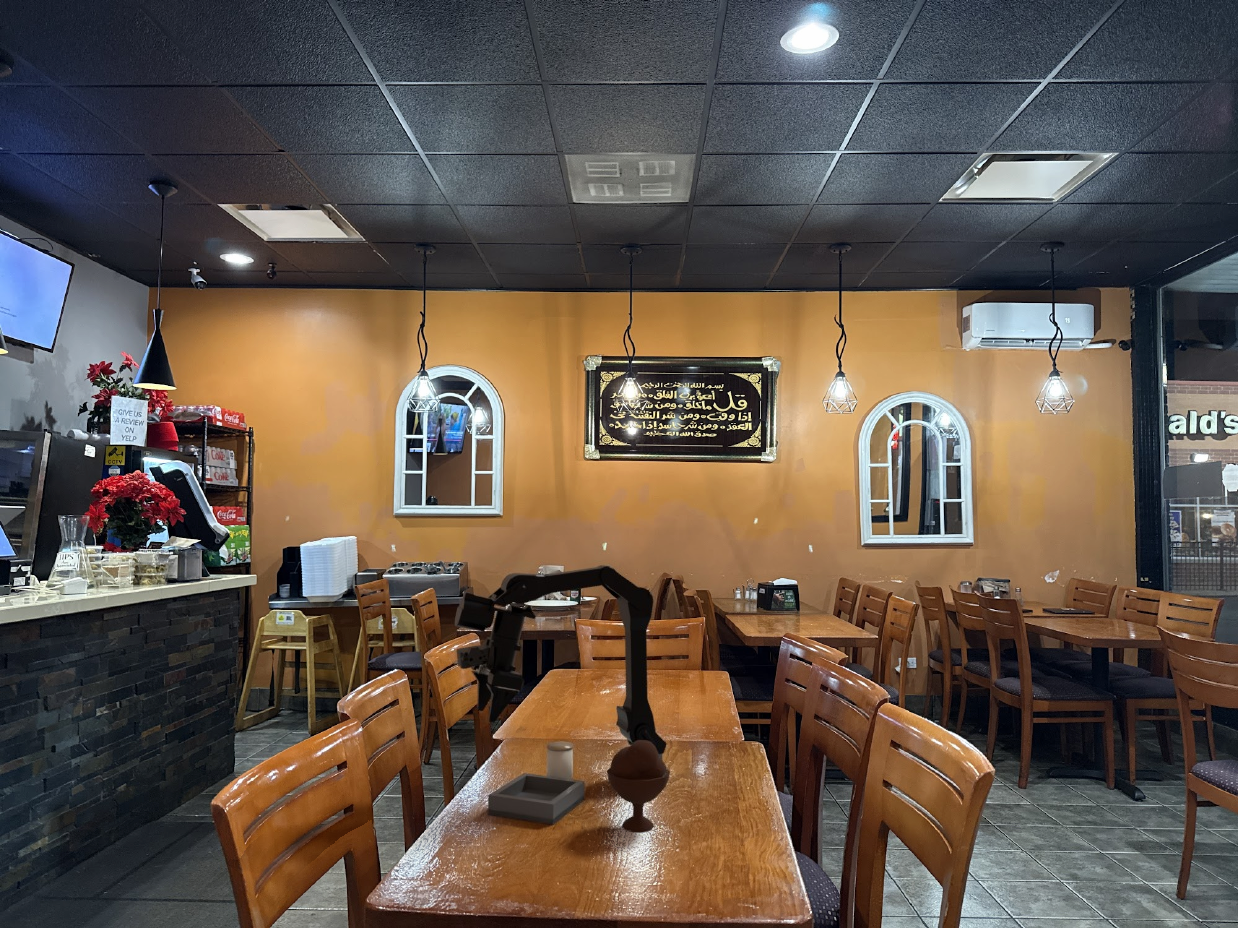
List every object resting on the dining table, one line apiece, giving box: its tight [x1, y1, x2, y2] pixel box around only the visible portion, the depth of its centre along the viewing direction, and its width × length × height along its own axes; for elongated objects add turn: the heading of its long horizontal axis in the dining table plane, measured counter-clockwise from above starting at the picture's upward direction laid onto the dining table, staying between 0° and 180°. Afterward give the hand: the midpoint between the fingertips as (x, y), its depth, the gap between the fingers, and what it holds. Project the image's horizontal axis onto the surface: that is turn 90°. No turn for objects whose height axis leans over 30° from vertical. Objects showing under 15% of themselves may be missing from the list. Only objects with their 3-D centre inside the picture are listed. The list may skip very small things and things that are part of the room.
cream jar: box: [546, 741, 574, 779], centre depth 164 cm, size 5×5×8 cm
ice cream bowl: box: [606, 740, 671, 833], centre depth 142 cm, size 11×11×15 cm
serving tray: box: [487, 772, 586, 826], centre depth 151 cm, size 13×14×4 cm
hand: (485, 716), depth 158 cm, fingers open, 9 cm apart
